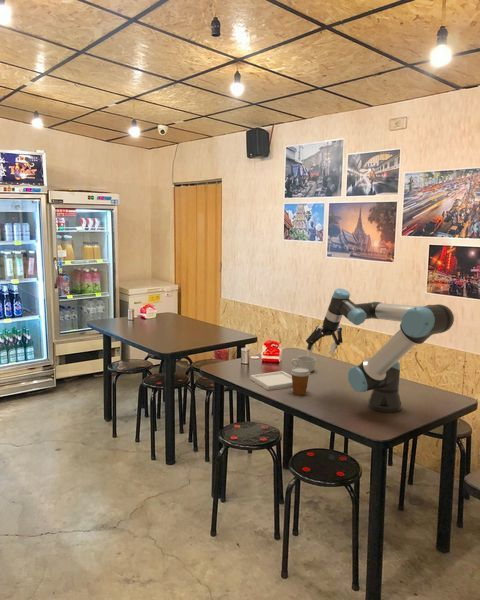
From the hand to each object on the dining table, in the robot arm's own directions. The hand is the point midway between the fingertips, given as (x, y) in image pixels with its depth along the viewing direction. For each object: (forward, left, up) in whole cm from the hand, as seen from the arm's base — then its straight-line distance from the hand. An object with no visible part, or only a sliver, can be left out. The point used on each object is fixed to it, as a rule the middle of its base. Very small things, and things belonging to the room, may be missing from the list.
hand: (319, 354), depth 254 cm
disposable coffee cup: (+3, +9, -20) cm, 22 cm away
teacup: (+34, -13, -20) cm, 42 cm away
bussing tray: (+22, +12, -20) cm, 32 cm away
